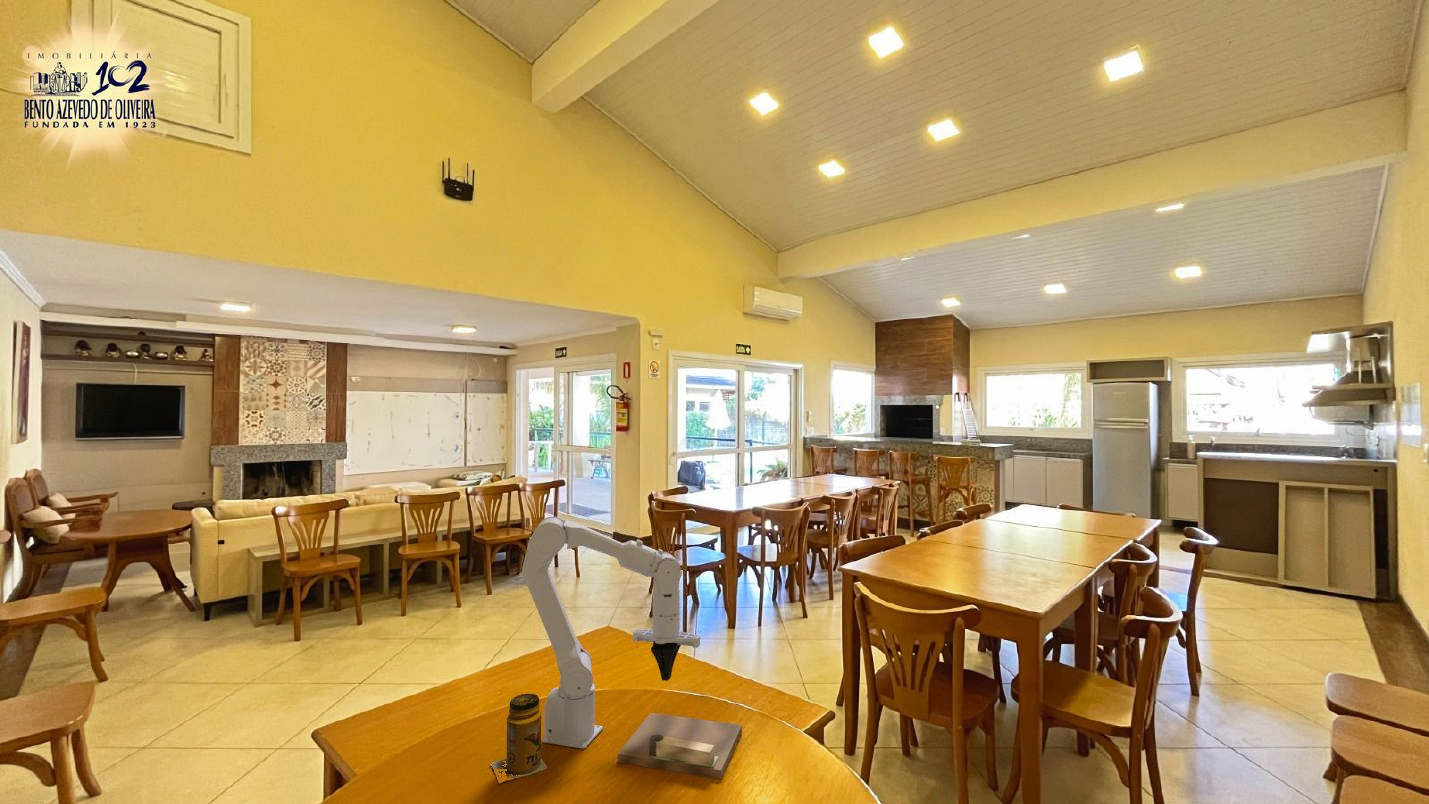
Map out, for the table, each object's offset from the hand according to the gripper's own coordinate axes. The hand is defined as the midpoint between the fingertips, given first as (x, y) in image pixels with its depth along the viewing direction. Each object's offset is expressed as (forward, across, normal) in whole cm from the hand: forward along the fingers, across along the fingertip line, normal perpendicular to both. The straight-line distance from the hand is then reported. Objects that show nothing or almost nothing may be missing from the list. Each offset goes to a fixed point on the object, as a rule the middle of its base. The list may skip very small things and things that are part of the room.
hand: (666, 678), depth 117 cm
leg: (+8, +8, -13) cm, 17 cm away
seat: (+9, +6, -7) cm, 13 cm away
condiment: (+10, -21, -21) cm, 31 cm away
